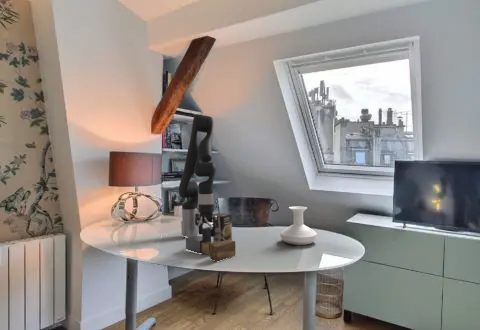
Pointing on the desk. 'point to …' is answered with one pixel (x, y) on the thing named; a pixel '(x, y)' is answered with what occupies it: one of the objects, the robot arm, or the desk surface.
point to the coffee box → (223, 228)
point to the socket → (222, 250)
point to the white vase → (298, 229)
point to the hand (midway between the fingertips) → (206, 235)
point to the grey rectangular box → (194, 243)
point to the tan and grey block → (206, 240)
